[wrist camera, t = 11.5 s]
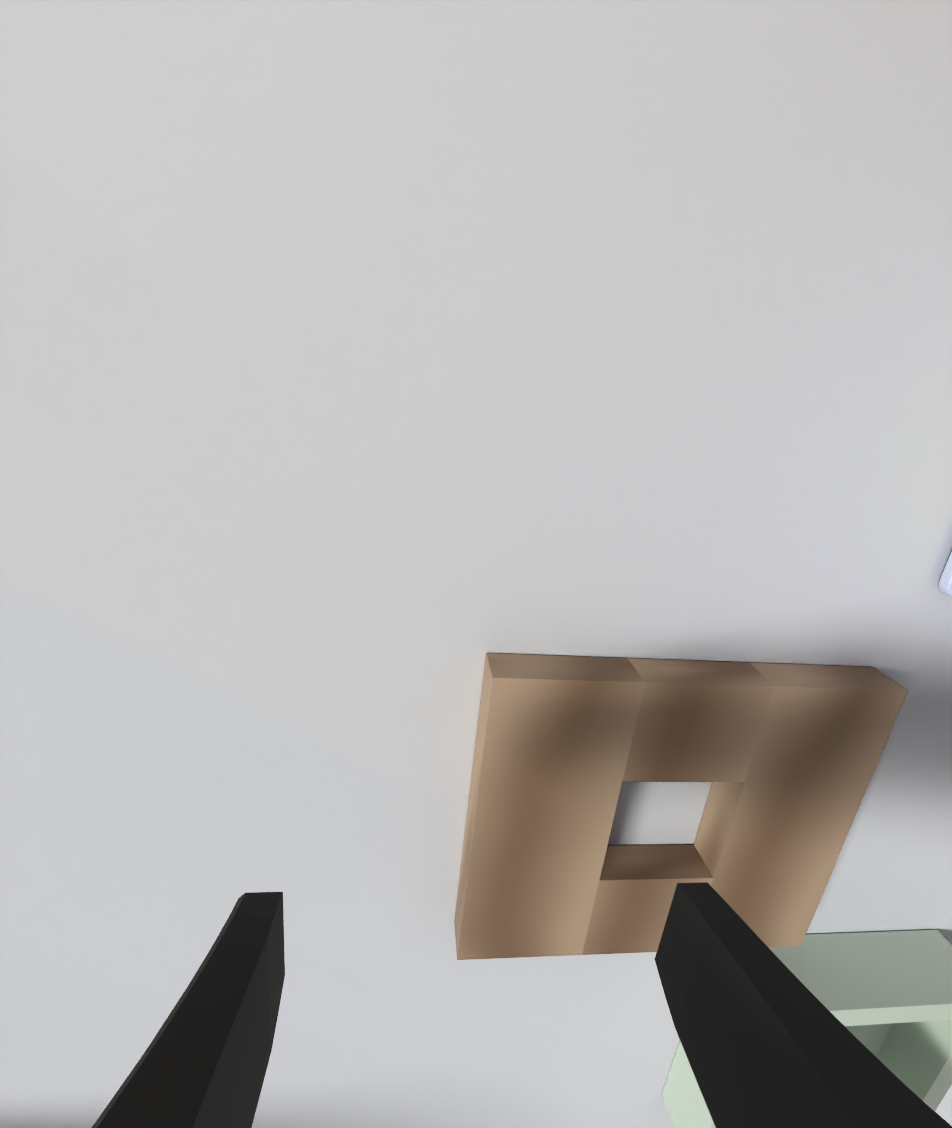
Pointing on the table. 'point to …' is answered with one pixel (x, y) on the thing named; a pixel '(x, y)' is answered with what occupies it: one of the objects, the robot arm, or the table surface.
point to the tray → (863, 1009)
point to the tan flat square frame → (658, 754)
